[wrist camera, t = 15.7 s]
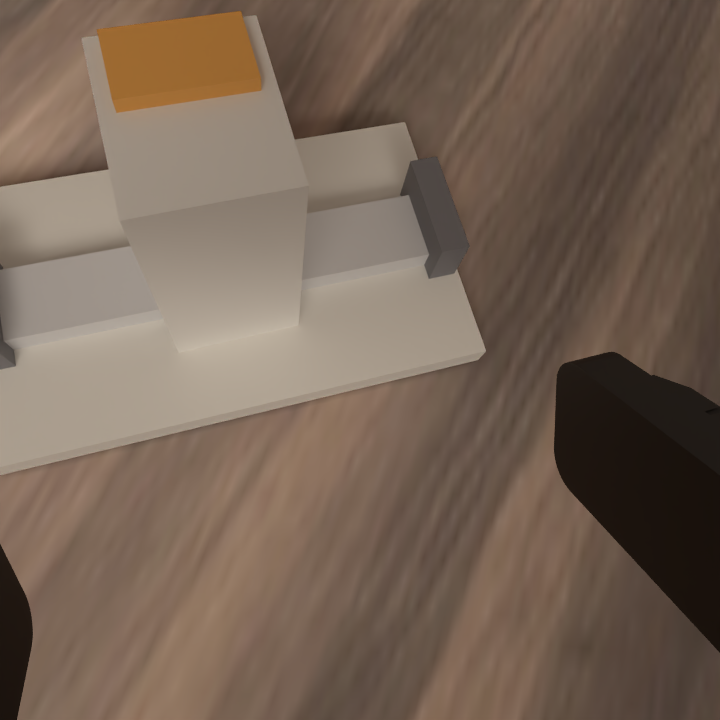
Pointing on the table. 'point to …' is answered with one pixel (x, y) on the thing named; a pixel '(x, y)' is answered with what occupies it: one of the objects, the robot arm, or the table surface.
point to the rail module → (203, 172)
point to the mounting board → (237, 357)
